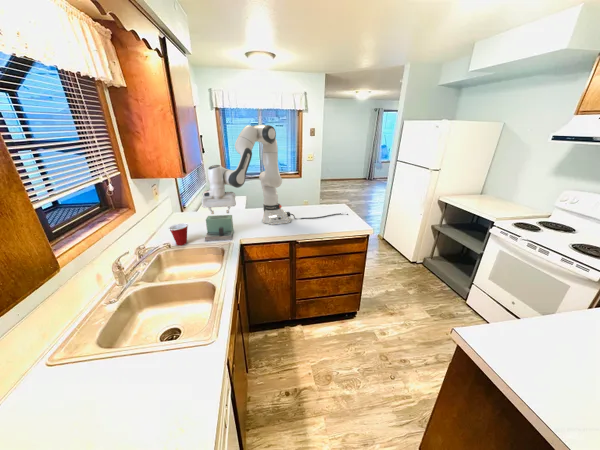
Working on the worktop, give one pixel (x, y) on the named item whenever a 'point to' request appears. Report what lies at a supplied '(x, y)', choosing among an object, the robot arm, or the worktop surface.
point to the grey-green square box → (215, 223)
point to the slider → (221, 231)
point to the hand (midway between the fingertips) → (220, 213)
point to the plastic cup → (179, 233)
